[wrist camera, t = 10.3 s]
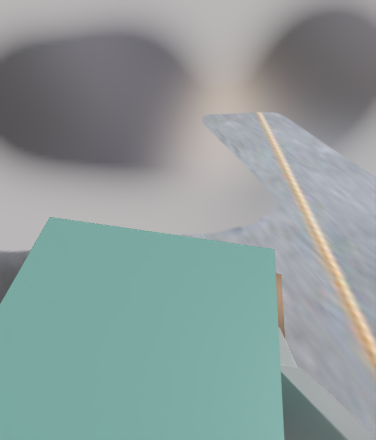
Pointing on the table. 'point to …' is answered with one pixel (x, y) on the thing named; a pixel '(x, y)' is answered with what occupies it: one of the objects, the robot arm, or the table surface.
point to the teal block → (140, 338)
